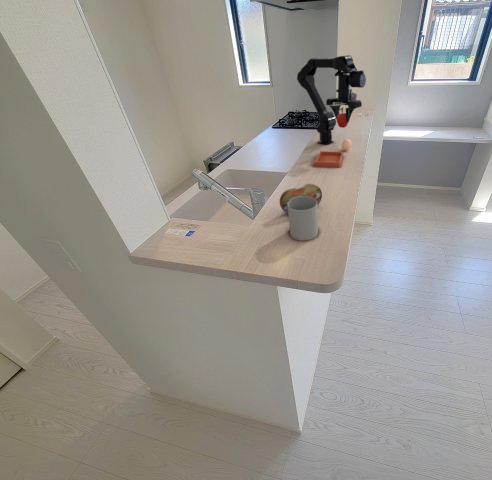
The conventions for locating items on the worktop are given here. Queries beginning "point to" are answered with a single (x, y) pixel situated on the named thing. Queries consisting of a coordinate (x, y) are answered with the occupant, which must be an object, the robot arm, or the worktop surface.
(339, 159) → the tray
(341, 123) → the apple
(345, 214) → the worktop surface
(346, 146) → the egg
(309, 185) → the tin
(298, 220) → the cup
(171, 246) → the worktop surface
